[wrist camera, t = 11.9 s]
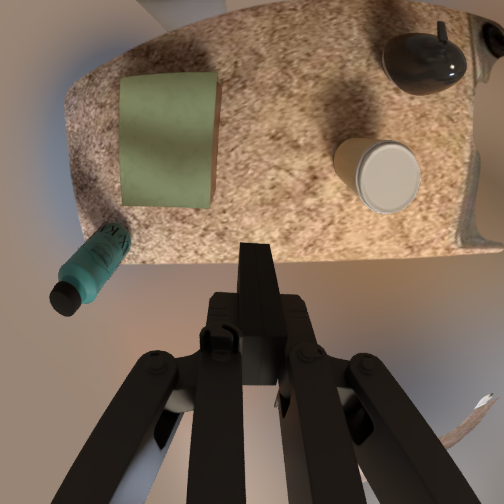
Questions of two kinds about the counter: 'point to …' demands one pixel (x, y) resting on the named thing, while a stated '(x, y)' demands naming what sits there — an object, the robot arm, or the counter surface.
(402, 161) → the coffee cup
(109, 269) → the beverage bottle
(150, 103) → the lid
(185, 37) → the counter surface
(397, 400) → the robot arm
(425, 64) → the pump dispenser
